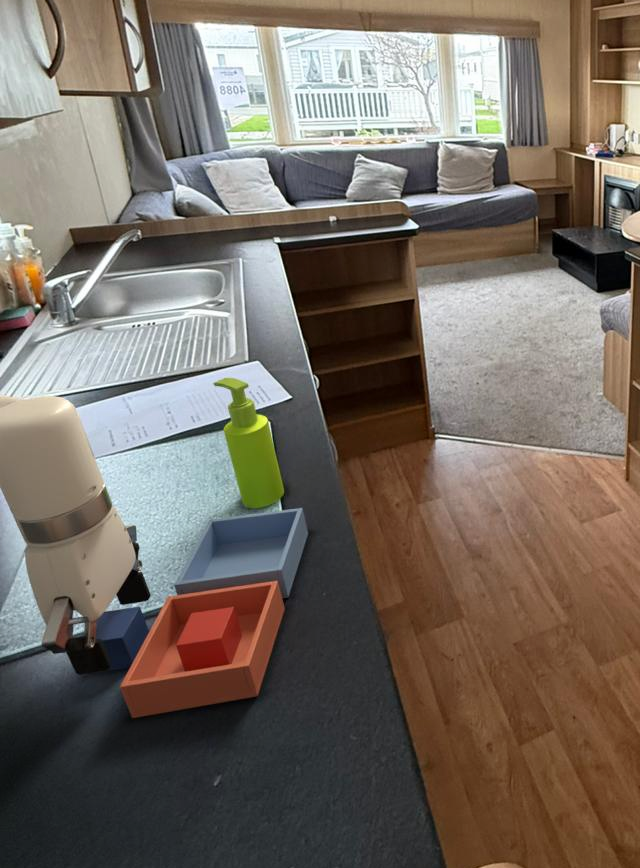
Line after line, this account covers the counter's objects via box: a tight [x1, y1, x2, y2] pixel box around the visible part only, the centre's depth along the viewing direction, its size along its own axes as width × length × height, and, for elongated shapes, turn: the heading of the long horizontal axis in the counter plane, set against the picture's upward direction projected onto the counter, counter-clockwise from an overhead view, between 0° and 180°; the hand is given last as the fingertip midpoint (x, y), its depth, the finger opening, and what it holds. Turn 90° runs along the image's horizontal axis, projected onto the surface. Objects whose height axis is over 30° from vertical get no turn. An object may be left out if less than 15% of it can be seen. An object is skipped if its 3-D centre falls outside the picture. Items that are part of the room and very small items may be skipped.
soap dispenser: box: [212, 377, 285, 509], centre depth 98 cm, size 6×7×20 cm
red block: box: [176, 607, 242, 672], centre depth 73 cm, size 4×4×4 cm
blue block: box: [81, 606, 150, 675], centre depth 74 cm, size 4×4×4 cm
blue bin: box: [174, 507, 309, 599], centre depth 86 cm, size 12×12×5 cm
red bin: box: [119, 581, 286, 719], centre depth 73 cm, size 12×12×5 cm
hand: (116, 633), depth 74 cm, fingers open, 9 cm apart
